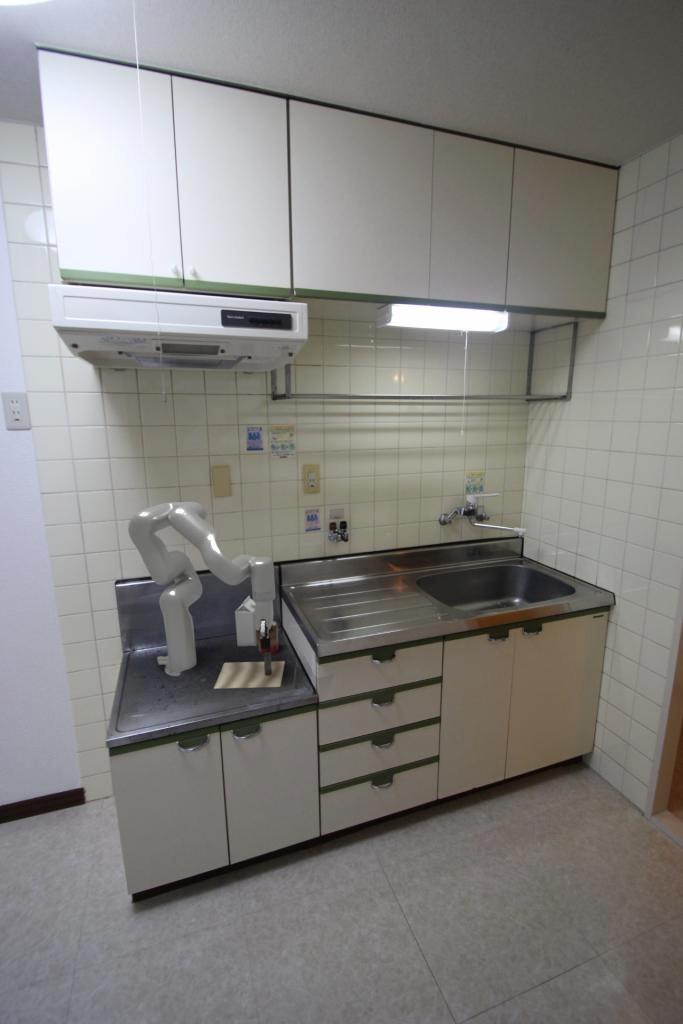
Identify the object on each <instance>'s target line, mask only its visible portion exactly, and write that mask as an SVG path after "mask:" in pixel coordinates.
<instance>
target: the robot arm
mask: <svg viewBox="0 0 683 1024" xmlns="http://www.w3.org/2000/svg"><path fill="white" fill-rule="evenodd" d="M206 518H207V511H206V509H205V508H204V506H203V505H201V504H200V503H198V502H196V501H180V502H179V501H175V502H163V503H160V504H157V505H153V506H149V507H146V508H144V509H142V510H139V511H138V512H137V513H135V514H134V515H133V516H132V517H131V519H130V520H129V523H128V527H127V528H128V529H127V530H128V535H129V539H130V540H131V541H132V543H133V545H134V546H135V548H136V549H137V551H138V552H139V554H140V555H139V556H140V557H141V559H142V561H143V563H144V566H145V567H146V569H147V571H148V573H149V576H150V578H151V580H152V581H153V582H154V583H155V584H157V585H159V586H165V585H167V584H169V583H171V582H173V581H174V583H173V584H172V585H170V586H169V587H167V588H166V589H165V590H163V592H162V593H161V594H160V597H159V601H158V602H159V607H160V611H161V613H162V618H163V624H164V631H165V638H166V640H165V641H166V650H167V655H166V656H161V655H160V656H159V655H158V656H157V662H158V665H159V666H162V665H164V672H165V674H167V676H170V677H177V678H178V677H179V676H180V675H181V673H182V672H183V671H187V670H188V671H189V670H190V669H192V668H193V667H195V666H196V665H197V663H198V662H197V652H196V640H195V631H194V629H195V628H194V620H193V616H192V614H191V613H190V611H189V607H190V606H191V605H193V604H194V603H195V602H196V601H198V599H200V598H201V596H202V594H203V585H202V583H201V580H200V578H199V575H198V573H197V572H196V570H195V568H194V565H193V563H192V561H191V559H190V558H189V556H188V555H187V554H186V553H184V552H183V551H180V550H171V551H168V549H167V546H166V544H165V543H164V541H163V540H162V539H161V538H160V536H158V535H156V533H157V532H159V531H160V530H161V531H162V530H163V529H166V528H168V527H171V528H173V529H174V530H175V532H178V534H180V535H181V536H182V537H183V538H185V539H186V540H187V541H188V542H189V543H190V544H192V546H193V547H195V548H196V549H198V551H199V552H200V555H201V558H202V560H203V562H204V564H205V566H206V568H207V569H208V571H210V572H211V573H212V574H213V575H214V576H215V577H217V579H219V580H220V581H222V582H223V583H224V584H226V585H229V586H237V585H240V584H241V583H242V582H244V581H245V579H247V578H251V591H252V592H251V593H252V600H253V601H254V602H255V603H256V604H255V617H256V630H259V629H260V643H261V649H270V648H271V645H270V637H269V630H270V629H271V626H272V622H273V621H274V600H275V599H276V598H277V597H276V585H275V566H274V560H273V559H272V557H271V558H270V557H268V556H260V557H258V556H255V555H250V554H241V555H237V556H236V557H235V558H233V559H232V560H230V559H228V558H227V557H226V556H225V555H224V554H223V553H222V552H221V550H220V549H219V546H218V537H219V532H218V530H217V529H215V528H214V526H212V525H211V524H210V523H208V522H207V521H206ZM265 627H267V629H265ZM265 631H267V633H265Z"/></svg>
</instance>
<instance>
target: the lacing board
mask: <svg viewBox="0 0 683 1024" xmlns="http://www.w3.org/2000/svg"><path fill="white" fill-rule="evenodd" d="M285 662H286V661H285V660H280V661H272V654H271V653H269V652H266V653H264V654H263V661H247V662H246V661H242V662H236V661H235V662H224V663H223V665H222V668H221V670H220V672H219V675H218V678H217V679H216V682H215V684H214V687H213V689H214V690H216V689H251V688H253V689H254V688H256V689H257V688H280V687H281V686H282V679H283V674H284V668H285V665H286V664H285Z"/></svg>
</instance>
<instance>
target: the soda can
mask: <svg viewBox="0 0 683 1024" xmlns="http://www.w3.org/2000/svg"><path fill="white" fill-rule="evenodd" d="M272 625H273V626H275V627H277V638H278V639H279V635H278V634H279V632H278V623H277V622H276V621H274V620H273V622H272ZM258 649H259V653H261V654H263V655H264V653H266V652H269V653H271V655H272V654H275V653H277V652H278V651H279V640H278V641H277V645H275V646H273V647H271V648H270V649H261V647H259V646H258Z"/></svg>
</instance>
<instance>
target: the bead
mask: <svg viewBox="0 0 683 1024" xmlns="http://www.w3.org/2000/svg"><path fill="white" fill-rule="evenodd" d="M265 629H267V627H265ZM277 629H278V626H277V627H275V626H273V625H272V626H271V629H270V630H269V637H270V645H271V647H273V646H275V645H277V641H278V642H279V637H278V638H277ZM265 633H267V631H265ZM256 643H257V645H256V646H257V647H258V648H259V647H261V643H260V629H259V630H256Z"/></svg>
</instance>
